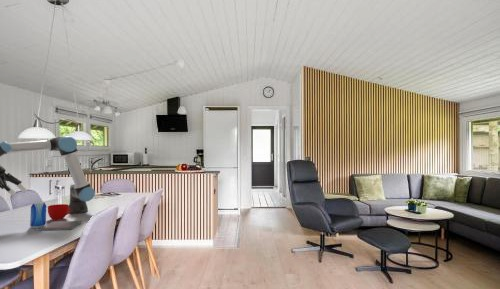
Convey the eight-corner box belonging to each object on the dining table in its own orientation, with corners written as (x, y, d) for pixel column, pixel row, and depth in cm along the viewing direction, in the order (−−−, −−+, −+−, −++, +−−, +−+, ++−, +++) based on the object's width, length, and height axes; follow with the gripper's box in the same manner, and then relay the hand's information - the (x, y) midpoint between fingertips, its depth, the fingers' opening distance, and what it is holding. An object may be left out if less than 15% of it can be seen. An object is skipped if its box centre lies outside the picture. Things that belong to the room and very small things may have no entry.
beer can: (29, 226, 196) (30, 202, 197) (44, 224, 202) (45, 201, 202) (30, 229, 190) (31, 204, 190) (46, 227, 195) (47, 203, 196)
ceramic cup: (62, 222, 209) (63, 208, 210) (42, 220, 213) (43, 206, 213) (76, 218, 222) (77, 205, 222) (57, 216, 226) (58, 203, 226)
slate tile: (53, 223, 205) (53, 221, 205) (81, 223, 208) (81, 220, 208) (40, 230, 187) (40, 228, 187) (71, 229, 191) (71, 227, 191)
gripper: (2, 172, 203) (25, 194, 206) (-24, 174, 179) (3, 199, 181) (11, 164, 204) (34, 186, 207) (-13, 166, 180) (13, 191, 182)
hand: (20, 192), depth 194 cm, fingers open, 13 cm apart
